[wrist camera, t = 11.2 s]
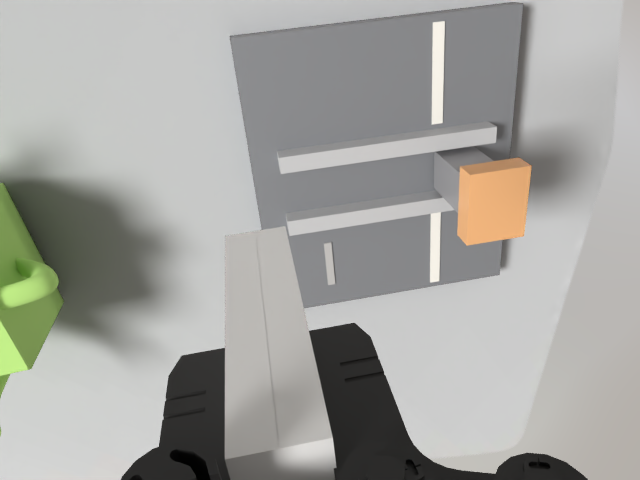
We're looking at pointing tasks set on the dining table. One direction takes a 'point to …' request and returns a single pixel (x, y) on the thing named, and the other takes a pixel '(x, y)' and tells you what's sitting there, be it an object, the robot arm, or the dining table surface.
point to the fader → (483, 193)
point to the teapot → (22, 294)
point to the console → (376, 142)
